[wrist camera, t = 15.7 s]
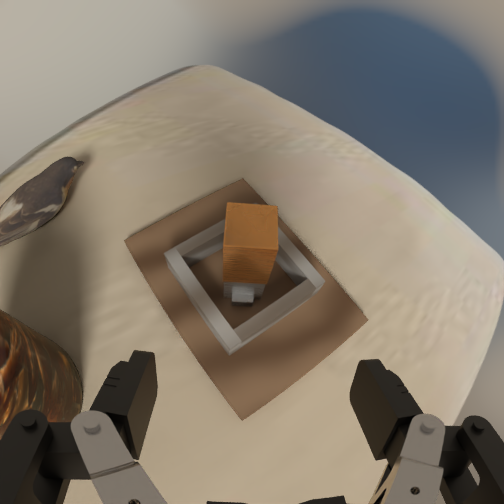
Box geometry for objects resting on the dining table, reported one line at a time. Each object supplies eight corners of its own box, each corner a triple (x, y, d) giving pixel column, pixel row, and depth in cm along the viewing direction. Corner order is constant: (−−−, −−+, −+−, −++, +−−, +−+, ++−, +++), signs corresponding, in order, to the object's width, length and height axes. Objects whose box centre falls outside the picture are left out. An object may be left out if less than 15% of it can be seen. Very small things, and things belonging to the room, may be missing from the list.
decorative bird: (103, 183, 38) (93, 156, 33) (-24, 316, 27) (-48, 300, 22) (79, 164, 39) (69, 139, 35) (-39, 284, 28) (-60, 267, 24)
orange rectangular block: (261, 307, 30) (278, 258, 22) (221, 305, 30) (222, 254, 21) (262, 259, 33) (277, 198, 24) (225, 257, 33) (227, 195, 24)
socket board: (126, 245, 33) (117, 225, 30) (242, 183, 39) (244, 161, 36) (241, 420, 26) (244, 421, 22) (364, 322, 31) (381, 310, 28)
